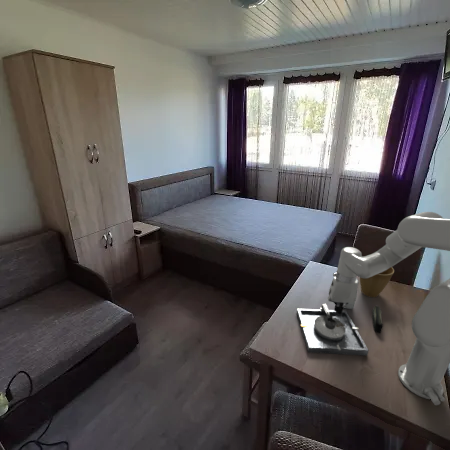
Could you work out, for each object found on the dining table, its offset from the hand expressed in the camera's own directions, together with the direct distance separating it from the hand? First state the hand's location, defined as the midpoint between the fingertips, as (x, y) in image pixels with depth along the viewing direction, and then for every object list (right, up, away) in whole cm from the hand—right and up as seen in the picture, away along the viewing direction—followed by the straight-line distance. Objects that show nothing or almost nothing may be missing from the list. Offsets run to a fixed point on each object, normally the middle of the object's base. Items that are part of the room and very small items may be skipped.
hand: (337, 312), depth 115 cm
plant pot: (+25, +3, +21) cm, 33 cm away
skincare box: (+9, 0, +13) cm, 16 cm away
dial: (-6, -5, -4) cm, 9 cm away
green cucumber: (+17, -5, +2) cm, 18 cm away
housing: (-6, -7, -5) cm, 11 cm away
